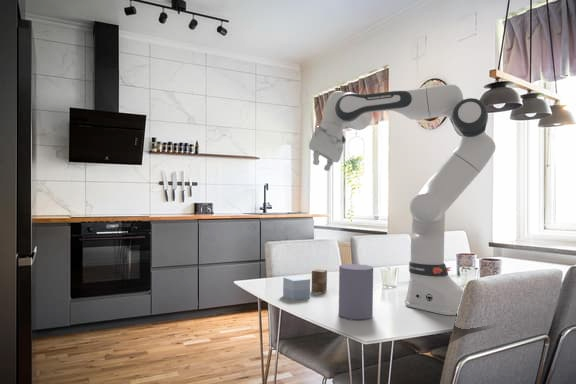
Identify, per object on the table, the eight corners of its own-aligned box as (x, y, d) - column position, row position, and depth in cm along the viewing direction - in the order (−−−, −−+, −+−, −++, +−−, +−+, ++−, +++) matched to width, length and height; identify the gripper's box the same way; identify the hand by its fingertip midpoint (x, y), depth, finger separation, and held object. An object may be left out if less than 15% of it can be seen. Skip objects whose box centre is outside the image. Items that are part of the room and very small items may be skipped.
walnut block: (326, 290, 165) (326, 270, 166) (322, 293, 161) (323, 271, 161) (315, 289, 167) (316, 269, 167) (311, 291, 163) (311, 270, 163)
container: (379, 316, 131) (379, 267, 131) (359, 322, 124) (360, 270, 124) (352, 309, 138) (352, 263, 138) (331, 315, 131) (332, 266, 131)
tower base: (309, 298, 153) (310, 289, 153) (293, 300, 149) (293, 290, 149) (299, 294, 159) (299, 285, 159) (283, 296, 155) (283, 287, 155)
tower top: (309, 289, 153) (310, 279, 153) (293, 290, 149) (293, 280, 150) (299, 285, 159) (299, 276, 159) (283, 287, 155) (283, 277, 156)
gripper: (325, 125, 153) (315, 162, 152) (347, 141, 170) (339, 174, 169) (310, 123, 157) (300, 159, 156) (333, 139, 174) (325, 172, 173)
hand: (321, 167), depth 163 cm, fingers open, 8 cm apart
